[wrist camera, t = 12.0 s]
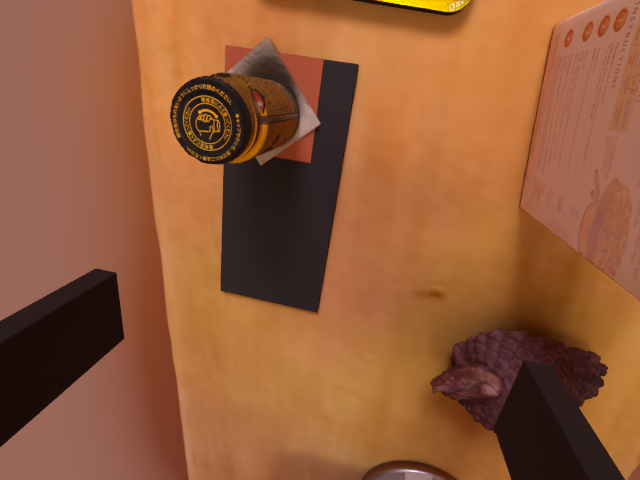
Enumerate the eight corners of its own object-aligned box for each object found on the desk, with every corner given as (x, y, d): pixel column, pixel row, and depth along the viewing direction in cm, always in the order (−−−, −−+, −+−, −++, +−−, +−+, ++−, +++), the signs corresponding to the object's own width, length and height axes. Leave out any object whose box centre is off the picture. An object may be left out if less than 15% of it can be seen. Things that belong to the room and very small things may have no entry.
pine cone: (597, 299, 33) (676, 409, 27) (548, 339, 41) (601, 431, 35) (421, 324, 33) (461, 443, 26) (405, 360, 40) (433, 458, 34)
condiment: (261, 165, 34) (201, 196, 23) (209, 88, 32) (116, 81, 21) (321, 123, 31) (285, 135, 20) (268, 36, 29) (197, -2, 18)
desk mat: (318, 309, 40) (316, 313, 39) (222, 288, 41) (219, 291, 41) (358, 65, 30) (357, 64, 29) (229, 46, 31) (225, 45, 30)
